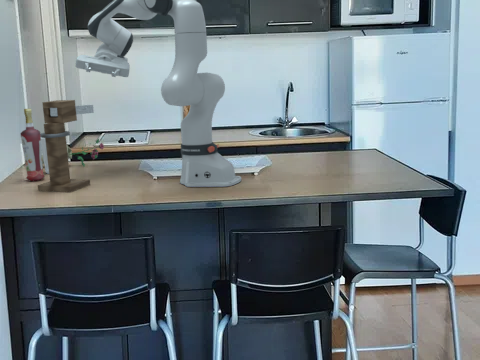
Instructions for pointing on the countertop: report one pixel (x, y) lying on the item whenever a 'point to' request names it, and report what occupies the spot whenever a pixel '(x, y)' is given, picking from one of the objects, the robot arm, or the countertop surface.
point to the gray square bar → (79, 110)
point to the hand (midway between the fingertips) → (101, 72)
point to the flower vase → (94, 152)
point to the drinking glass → (44, 154)
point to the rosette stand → (59, 147)
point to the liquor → (32, 149)
